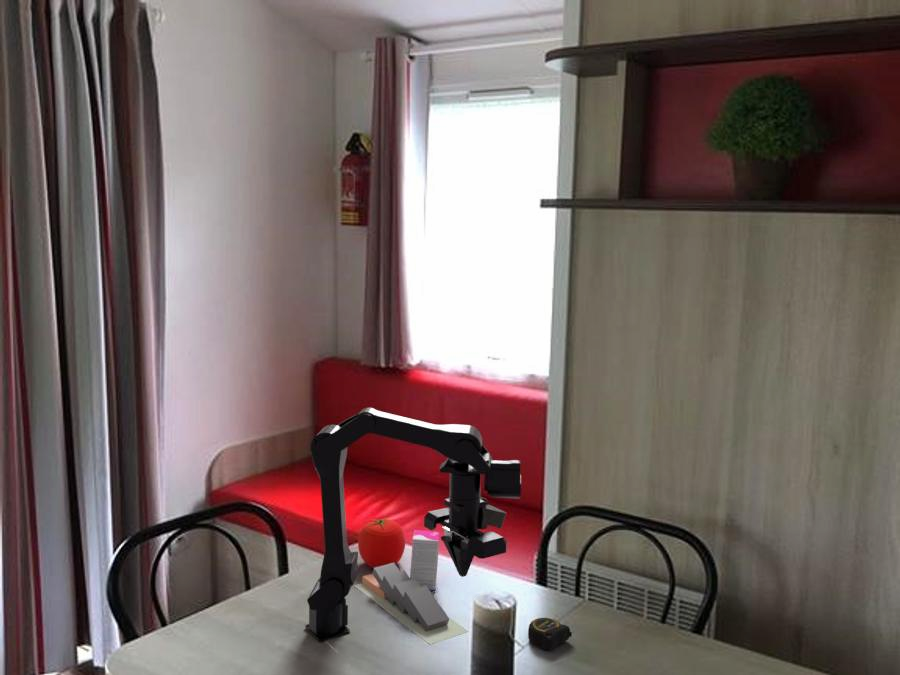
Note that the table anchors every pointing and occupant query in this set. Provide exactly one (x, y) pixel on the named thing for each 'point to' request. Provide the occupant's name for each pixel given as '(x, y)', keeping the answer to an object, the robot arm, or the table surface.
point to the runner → (428, 636)
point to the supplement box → (425, 558)
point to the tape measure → (547, 633)
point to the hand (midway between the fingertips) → (462, 575)
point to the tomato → (381, 542)
